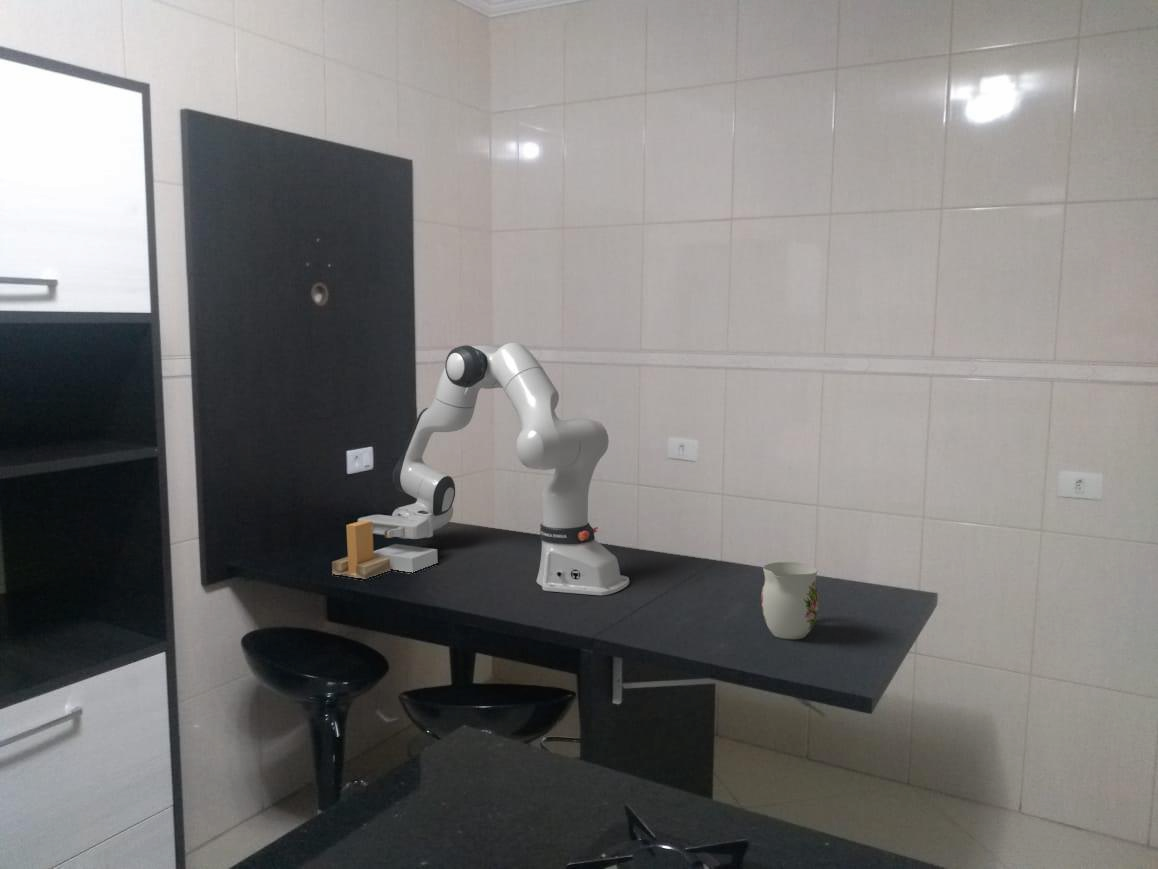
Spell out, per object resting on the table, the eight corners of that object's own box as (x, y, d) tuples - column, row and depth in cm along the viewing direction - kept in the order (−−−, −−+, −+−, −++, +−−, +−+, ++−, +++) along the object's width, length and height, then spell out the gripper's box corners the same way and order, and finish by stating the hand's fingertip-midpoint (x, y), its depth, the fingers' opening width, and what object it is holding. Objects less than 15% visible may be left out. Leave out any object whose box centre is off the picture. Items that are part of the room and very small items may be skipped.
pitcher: (828, 622, 179) (829, 557, 177) (807, 651, 163) (808, 579, 162) (775, 614, 184) (776, 551, 182) (749, 642, 168) (750, 572, 167)
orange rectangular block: (374, 567, 223) (372, 521, 221) (357, 573, 218) (355, 526, 216) (365, 566, 224) (363, 520, 223) (348, 571, 219) (346, 525, 218)
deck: (437, 564, 229) (437, 549, 228) (412, 573, 220) (412, 558, 220) (396, 558, 236) (395, 543, 235) (370, 567, 227) (370, 552, 226)
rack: (390, 571, 222) (389, 558, 222) (365, 580, 215) (364, 566, 214) (357, 566, 228) (357, 553, 227) (332, 575, 220) (331, 561, 220)
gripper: (377, 507, 241) (341, 516, 228) (436, 513, 231) (402, 524, 219) (378, 529, 241) (342, 540, 229) (437, 537, 231) (403, 549, 219)
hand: (372, 532), depth 224 cm, fingers open, 8 cm apart
